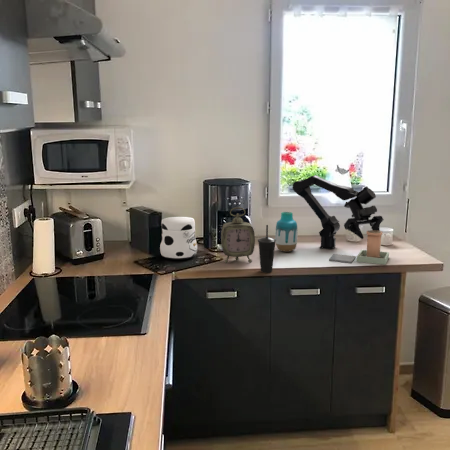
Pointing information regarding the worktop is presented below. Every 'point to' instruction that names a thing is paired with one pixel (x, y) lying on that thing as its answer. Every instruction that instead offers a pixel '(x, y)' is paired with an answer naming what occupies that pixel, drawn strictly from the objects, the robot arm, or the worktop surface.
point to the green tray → (373, 258)
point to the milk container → (178, 238)
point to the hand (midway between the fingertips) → (371, 237)
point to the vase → (286, 232)
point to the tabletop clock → (237, 238)
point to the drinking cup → (266, 252)
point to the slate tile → (342, 258)
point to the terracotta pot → (373, 243)
